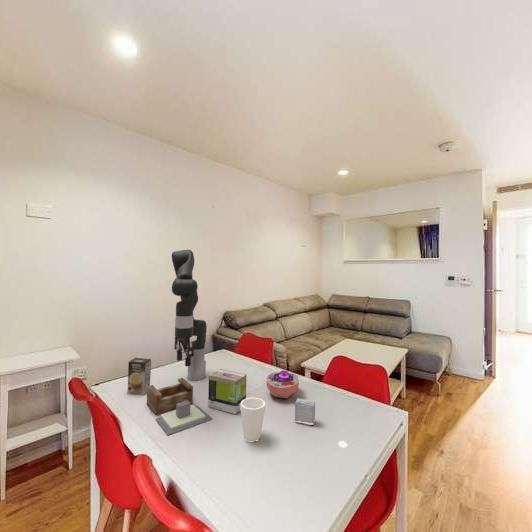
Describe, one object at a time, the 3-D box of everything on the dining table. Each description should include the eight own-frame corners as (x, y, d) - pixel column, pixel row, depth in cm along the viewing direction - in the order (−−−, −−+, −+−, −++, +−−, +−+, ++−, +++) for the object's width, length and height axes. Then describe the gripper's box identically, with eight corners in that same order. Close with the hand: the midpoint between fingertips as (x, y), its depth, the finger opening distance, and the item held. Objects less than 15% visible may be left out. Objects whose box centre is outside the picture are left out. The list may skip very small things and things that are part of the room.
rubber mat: (197, 406, 130) (197, 405, 130) (212, 419, 119) (212, 418, 119) (155, 419, 117) (155, 418, 117) (167, 435, 107) (167, 434, 107)
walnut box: (182, 394, 140) (182, 377, 140) (192, 404, 131) (193, 386, 131) (146, 404, 130) (147, 386, 130) (155, 415, 120) (155, 396, 120)
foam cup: (255, 448, 101) (256, 412, 101) (234, 439, 106) (235, 404, 106) (268, 435, 109) (269, 401, 109) (249, 427, 114) (250, 395, 114)
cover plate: (193, 406, 128) (193, 393, 128) (205, 418, 119) (205, 403, 119) (160, 417, 119) (160, 402, 119) (171, 430, 110) (171, 415, 110)
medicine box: (315, 421, 119) (315, 401, 119) (313, 427, 115) (313, 405, 115) (296, 417, 122) (297, 397, 122) (294, 423, 118) (294, 402, 118)
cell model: (259, 400, 137) (259, 376, 137) (273, 384, 156) (274, 364, 156) (292, 407, 131) (293, 383, 131) (303, 390, 149) (304, 369, 149)
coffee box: (126, 393, 140) (127, 361, 140) (133, 388, 146) (134, 357, 146) (144, 395, 139) (145, 362, 139) (150, 389, 145) (151, 358, 145)
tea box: (246, 405, 132) (247, 373, 132) (235, 415, 123) (236, 381, 123) (219, 398, 138) (220, 368, 138) (207, 407, 129) (208, 375, 129)
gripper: (199, 327, 118) (199, 366, 118) (185, 321, 129) (184, 356, 129) (182, 330, 113) (182, 370, 113) (169, 323, 124) (168, 360, 124)
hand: (183, 363), depth 121 cm, fingers open, 8 cm apart
